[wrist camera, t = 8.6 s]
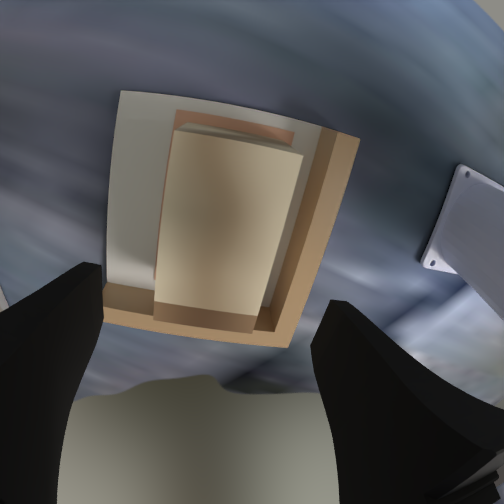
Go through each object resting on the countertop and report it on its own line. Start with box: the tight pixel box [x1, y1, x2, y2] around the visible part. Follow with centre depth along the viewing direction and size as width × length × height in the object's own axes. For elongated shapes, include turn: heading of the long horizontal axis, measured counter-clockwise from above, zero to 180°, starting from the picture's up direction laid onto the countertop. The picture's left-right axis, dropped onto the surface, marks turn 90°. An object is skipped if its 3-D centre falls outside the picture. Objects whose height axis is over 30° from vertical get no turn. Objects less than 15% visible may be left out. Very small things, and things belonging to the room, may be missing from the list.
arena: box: [102, 90, 360, 348], centre depth 17 cm, size 12×13×3 cm
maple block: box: [153, 122, 303, 334], centre depth 15 cm, size 5×9×4 cm, turn 167°
